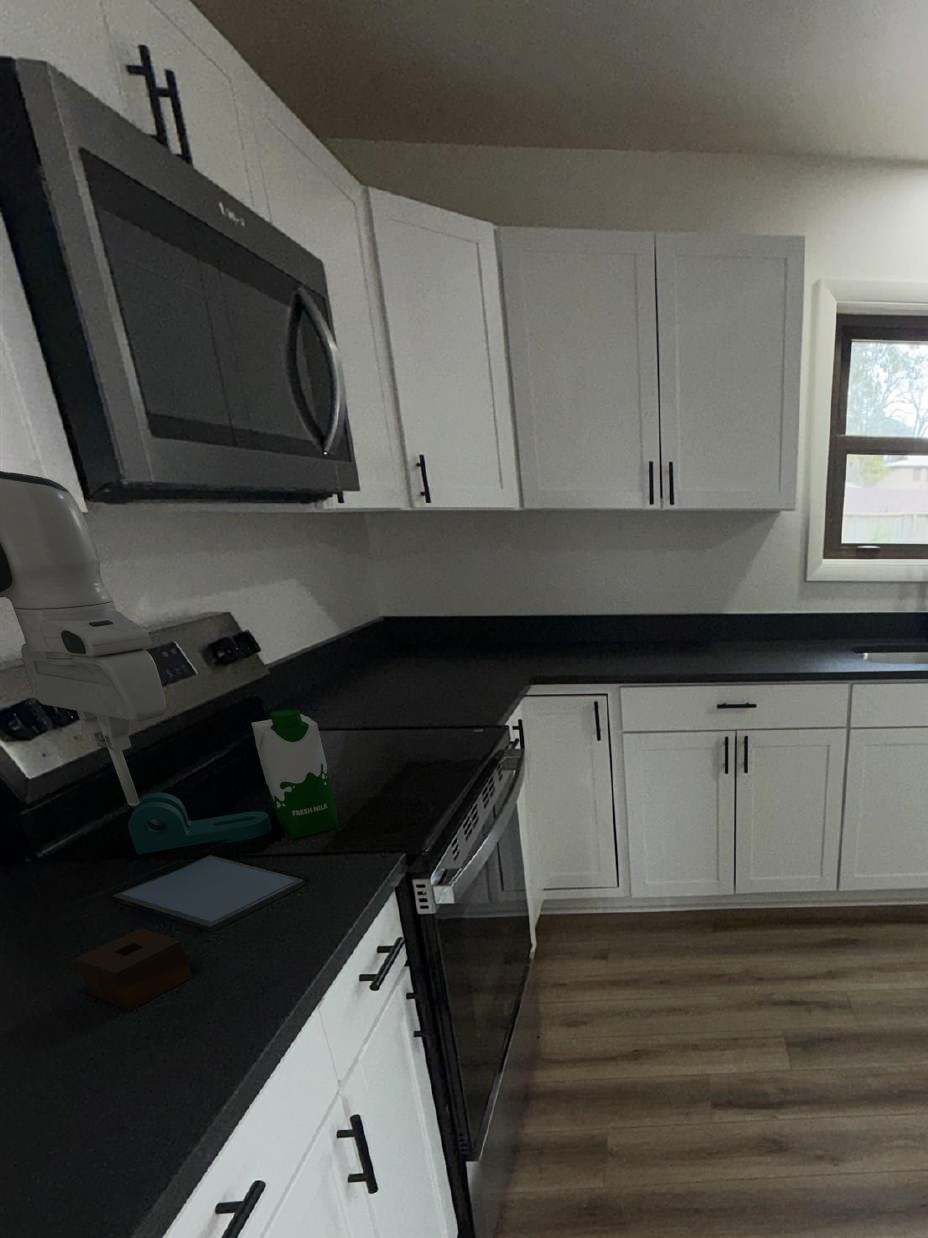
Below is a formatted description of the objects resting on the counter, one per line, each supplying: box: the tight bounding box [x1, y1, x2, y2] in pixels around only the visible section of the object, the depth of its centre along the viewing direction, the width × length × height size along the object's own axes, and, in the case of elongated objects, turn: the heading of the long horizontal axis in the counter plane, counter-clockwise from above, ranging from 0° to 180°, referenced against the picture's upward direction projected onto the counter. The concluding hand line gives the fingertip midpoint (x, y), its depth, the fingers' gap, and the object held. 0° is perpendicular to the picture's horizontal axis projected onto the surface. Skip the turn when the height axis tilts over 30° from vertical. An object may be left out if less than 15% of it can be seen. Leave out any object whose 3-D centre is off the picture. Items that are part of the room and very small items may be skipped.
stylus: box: [96, 714, 140, 807], centre depth 94 cm, size 1×1×12 cm
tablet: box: [112, 854, 306, 933], centre depth 108 cm, size 20×14×1 cm
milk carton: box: [251, 708, 340, 840], centre depth 125 cm, size 9×9×20 cm
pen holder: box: [75, 927, 193, 1012], centre depth 87 cm, size 7×7×5 cm
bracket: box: [127, 791, 273, 856], centre depth 123 cm, size 18×7×8 cm, turn 119°
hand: (114, 747), depth 93 cm, fingers closed on stylus, 1 cm apart
